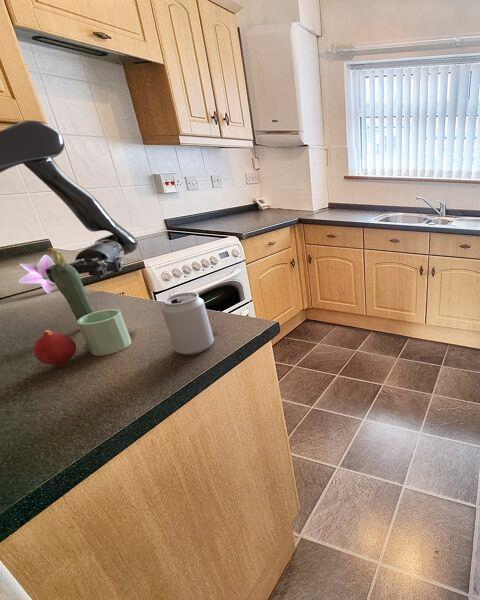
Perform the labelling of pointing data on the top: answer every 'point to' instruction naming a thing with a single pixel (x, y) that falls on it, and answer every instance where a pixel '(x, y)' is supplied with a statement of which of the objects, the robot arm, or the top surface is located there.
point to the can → (187, 323)
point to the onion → (54, 348)
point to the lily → (39, 273)
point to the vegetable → (70, 285)
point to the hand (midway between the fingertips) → (75, 276)
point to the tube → (104, 332)
